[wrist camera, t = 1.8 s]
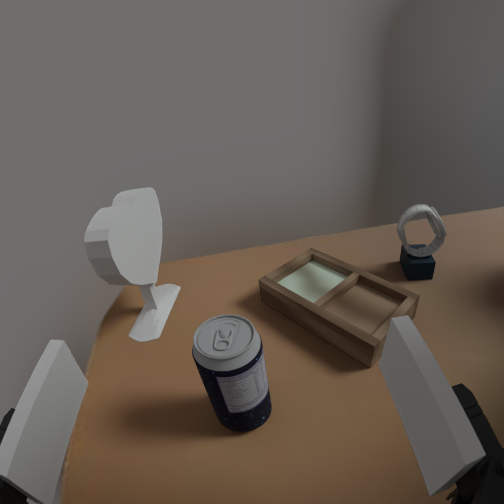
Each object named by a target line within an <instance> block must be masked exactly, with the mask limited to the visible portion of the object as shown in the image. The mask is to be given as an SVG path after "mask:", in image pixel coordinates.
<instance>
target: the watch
mask: <svg viewBox="0 0 504 504" xmlns="http://www.w3.org/2000/svg"><path fill="white" fill-rule="evenodd" d="M406 211H407V212H406ZM406 211H405V212H404V213H403V214H402V216H401V217H400V219H399V222H398V228H397V231H398V235H399V238H400V240H401V242H402V244H403V245H402V247H401V255H400V263H401V265H402V268H403V270H404V272H405V275H406V277H407V280H424V279H432V278H433V273H434V268H435V263H436V262H435V260H434V259H433V257H432V254H433V253H435V252H436V251H437V250H438V249H439V248H440V247H441V245H442V244H443V243H444V240H445V236H446V235H447V232H446V229H445V226H444V224H443V222H442V220H441V218H440V216H439V214H438V213H437V211H436V210H435V209H434V208H433V207H431V208H429V207H428V206H427V205H423V204H422V205H421V204H419V205H414V206H412V207H411V208H408V209H407V210H406ZM419 213H426V215H427V218H428V221H429V223H430V225H431V227H432V229H433V231H434V232H435V234H436V237H435V239H434V240H433V241H432V243H433V244H432V243H430V244H429V245H428V246H426V245H425V244H420V245H409V244H408V243H407V241H406V237H405V233H404V226H405V224H406V221H408V220H409V219H410V217H413V216H414V215H415V214H419ZM407 216H408V217H407Z"/></svg>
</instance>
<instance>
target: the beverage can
mask: <svg viewBox="0 0 504 504" xmlns="http://www.w3.org/2000/svg"><path fill="white" fill-rule="evenodd" d="M193 343H194V344H193V348H192V354H193V358H194V361H195V363H196V366H197V369H198V371H199V374H200V376H201V379H202V381H203V384H204V386H205V389H206V391H207V394H208V396H209V398H210V401H211V403H212V406H213V408H214V410H215V413H216V415H217V417H218V419H219V421H220V422H221V424H222V425H224V426H225V427H226V428H228V429H230V430H233V431H239V432H245V431H251V430H254V429H256V428H258V427H260V426H261V425H263V424H264V423H265V422H266V421H267V419H268V418H269V416H270V413H271V409H272V406H271V399H270V393H269V386H268V379H267V373H266V366H265V360H264V353H263V346H262V340H261V337H260V335H259V333H258V332H257V331H256V330H255V328H254V326H253V325H252V323H251V322H250V321H249V320H247V319H246V318H244V317H242V316H238V315H231V314H227V315H219V316H216V317H213V318H210V319H208V320H207V321H205V322H204V323H202V324H201V325H200V326H199V327H198V328H197V330H196V332H195V334H194V337H193Z"/></svg>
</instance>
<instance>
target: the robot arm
mask: <svg viewBox="0 0 504 504" xmlns="http://www.w3.org/2000/svg"><path fill="white" fill-rule="evenodd" d="M379 368H380V370H381V372H382V375H383V377H384V379H385V382H386V384H387V386H388V389H389V391H390V393H391V396H392V398H393V400H394V403H395V405H396V408H397V410H398V413H399V415H400V418H401V420H402V422H403V425H404V428H405V430H406V433H407V435H408V438H409V440H410V443H411V445H412V448H413V451H414V453H415V456H416V459H417V461H418V464H419V467H420V470H421V472H422V475H423V478H424V481H425V484H426V487H427V490H428V492H429V495H430V496H432V495H435V494H437V493H440V492H442V491H444V490H447V489H449V488H450V487H451V486H452V485H453V484H455V483H456V485H457V488H456V489H455V490H454V491H453V492H451V493H450V494H449V495H448V497H447V498H446V500H449V499H450V498H452V497H453V499H452V501H451V504H504V449H503V448H502V446H501V445H500V443H499V442H498V440H497V438H496V436H495V434H494V432H493V430H492V428H491V426H490V424H489V422H488V420H487V418H486V417H485V415H484V414H483V411H482V409H481V408H480V406H479V405H478V402H477V400H476V399H475V397H474V395H473V393H472V392H471V391H470V390H469V389H468V388H466V387H465V386H464V385H463V384H462V383H461V384H458V385H455V386H452V387H451V386H450V384H449V382H448V380H447V379H446V377H445V375H444V373H443V372H442V370H441V368H440V366H439V365H438V363H437V361H436V360H435V358H434V356H433V355H432V353H431V351H430V350H429V348H428V346H427V345H426V343H425V341H424V340H423V338H422V337H421V335H420V333H419V332H418V330H417V329H416V327H415V325H414V324H413V322H412V321H411V319H410V318H409V316H408V315H406V316H400V317H394V318H391V321H390V325H389V329H388V333H387V337H386V340H385V344H384V348H383V351H382V355H381V358H380V362H379ZM87 386H88V381H87V380H86V378H85V376H84V375H83V373H82V372H81V370H80V368H79V366H78V365H77V363H76V361H75V359H74V358H73V356H72V354H71V352H70V350H69V348H68V346H67V345H66V343H65V341H64V340H50V342H49V343H48V345H47V347H46V349H45V351H44V353H43V354H42V356H41V358H40V360H39V362H38V364H37V366H36V368H35V370H34V372H33V374H32V376H31V378H30V380H29V382H28V384H27V386H26V388H25V390H24V392H23V395H22V396H21V398H20V401H19V403H18V405H17V407H16V409H13V408H11V410H10V411H9V412H8V413H7V414H6V415H5V416H4V418H3V421H2V423H1V425H0V504H28V502H27V501H26V500H27V497H28V498H30V499H31V500H33V501H34V502H36V503H39V504H52V502H53V498H54V494H55V490H56V486H57V482H58V478H59V474H60V471H61V467H62V463H63V460H64V456H65V453H66V450H67V446H68V443H69V440H70V436H71V433H72V430H73V427H74V424H75V421H76V418H77V415H78V412H79V409H80V406H81V403H82V400H83V397H84V394H85V392H86V389H87Z"/></svg>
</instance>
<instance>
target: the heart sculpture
mask: <svg viewBox="0 0 504 504" xmlns="http://www.w3.org/2000/svg"><path fill="white" fill-rule="evenodd" d="M84 244H85V249H86V252H87V256H88V259H89V261H90V263H91V265H92V266H93V268H94V270H95V272H96V274H97V275H98V276H99V277H100V278H102V279H103V280H104V281H106V282H107V283H108V284H113V285H138V286H139V288H140V291H141V293H142V296H143V299H144V301H145V305H144V307H143V309H142V311H141V312H140V314H139V316H138V318H137V320H136V322H135V324H134V326H133V328H132V330H131V332H130V334H129V336H130V337H131V338H133V339H134V340H136V341H140V342H144V341H149V340H153V339H156V338H159V337H160V335H161V332H162V330H163V328H164V325H165V323H166V320H167V318H168V316H169V313H170V311H171V309H172V307H173V304H174V302H175V300H176V297H177V295H178V293H179V291H180V288H181V287H179V286H177V285H174V284H165V285H161V286H157V287H155V284H154V283H157V276H158V268H159V262H160V255H161V245H162V218H161V212H160V206H159V201H158V198H157V195H156V192H155V190H153V189H152V188H141V189H134V190H128V191H124V192H121V193H119V194H117V195H116V196H115V198H114V200H113V203H112V206H111V207H108V208H101V209H100V210H99V211H98V212H97V213H96V214H95V216H94V217H93V218H92V220H91V222H90V224H89V226H88V228H87V230H86V233H85V238H84Z"/></svg>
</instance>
